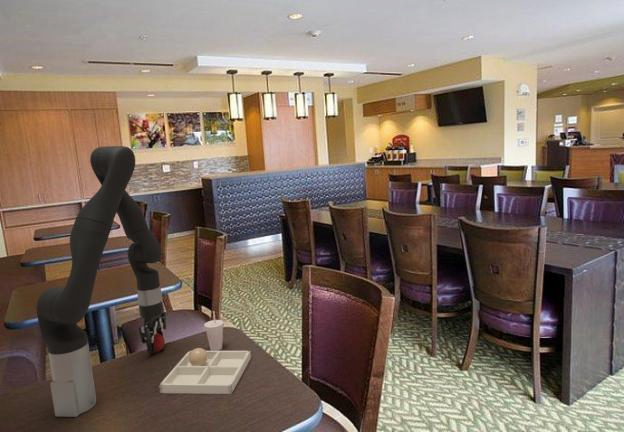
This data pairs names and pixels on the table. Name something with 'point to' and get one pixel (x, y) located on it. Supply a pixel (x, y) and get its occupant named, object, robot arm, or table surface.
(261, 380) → the table surface
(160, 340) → the onion
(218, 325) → the smoothie
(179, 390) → the tray
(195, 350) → the beige ball
